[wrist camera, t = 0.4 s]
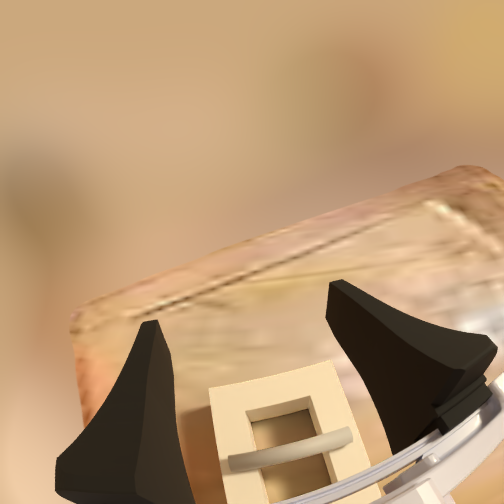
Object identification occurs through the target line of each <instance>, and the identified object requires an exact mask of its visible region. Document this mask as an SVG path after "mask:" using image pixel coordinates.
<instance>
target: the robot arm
mask: <svg viewBox="0 0 504 504" xmlns="http://www.w3.org/2000/svg"><path fill="white" fill-rule="evenodd" d="M325 318H326V320H327V322H328V324H329V326H330V328H331V330H332V332H333V334H334V336H335V338H336V340H337V341H338V343H339V344H340V346H341V347H342V349H343V350H344V352H345V353H346V355H347V356H348V358H349V359H350V361H351V362H352V364H353V365H354V367H355V368H356V370H357V371H358V373H359V374H360V376H361V378H362V380H363V381H364V383H365V385H366V387H367V389H368V391H369V394H370V396H371V398H372V400H373V402H374V404H375V407H376V409H377V411H378V414H379V416H380V419H381V421H382V424H383V427H384V429H385V432H386V435H387V438H388V441H389V444H390V448H391V451H392V454H393V456H392V457H390V458H388V459H386V460H384V461H382V462H380V463H378V464H376V465H374V466H372V467H370V468H368V469H366V470H364V471H362V472H359V473H357V474H355V475H353V476H351V477H348V478H346V479H343V480H341V481H339V482H336V483H334V484H331V485H329V486H326V487H323V488H320V489H318V490H315V491H312V492H309V493H306V494H303V495H300V496H297V497H294V498H290V499H287V500H283V501H280V502H276V503H272V504H330V503H333V502H335V501H338V500H340V499H343V498H345V497H347V496H350V495H352V494H354V493H357V492H359V491H361V490H363V489H365V488H367V487H369V486H371V485H373V484H375V483H377V482H379V481H381V480H383V479H385V478H387V477H389V476H391V475H393V474H394V473H396V472H398V471H400V470H401V469H403V468H405V467H407V466H408V465H410V464H412V463H413V462H415V461H416V460H417V461H416V464H415V465H413V466H412V467H410V468H409V469H407V470H406V471H404V472H403V473H401V474H399V476H398V477H397V478H395V479H394V480H393V481H391V482H390V483H388V484H387V485H385V486H384V487H383V490H384V492H385V493H386V495H385V496H383V497H381V498H379V499H377V500H375V501H373V502H371V503H369V504H456V503H455V502H454V500H453V498H452V497H451V495H450V492H451V491H452V490H453V489H454V488H456V487H457V486H458V485H459V484H460V483H461V482H462V481H464V480H465V479H466V478H467V477H468V476H469V475H470V474H471V473H472V472H473V471H474V470H475V469H476V468H477V467H478V466H479V465H480V464H481V463H482V462H483V461H484V460H485V459H486V458H487V457H488V456H489V455H490V454H491V453H492V452H493V451H494V449H495V448H496V447H497V446H498V445H499V444H500V443H501V442H502V440H503V439H504V371H503V372H502V373H501V374H500V375H499V376H498V377H497V378H496V379H494V380H493V381H492V382H491V383H490V384H489V385H488V387H487V386H486V384H485V382H486V380H487V379H486V377H485V376H484V375H483V374H484V372H485V371H486V369H487V368H488V366H489V365H490V363H491V362H492V360H493V359H494V357H495V355H496V353H497V350H498V347H497V346H496V345H495V344H494V343H493V342H492V341H491V339H490V338H489V337H488V336H487V335H482V334H474V333H466V332H461V331H456V330H452V329H448V328H444V327H440V326H437V325H434V324H431V323H428V322H425V321H422V320H420V319H417V318H415V317H412V316H410V315H408V314H405V313H403V312H401V311H399V310H397V309H395V308H393V307H391V306H389V305H387V304H385V303H383V302H382V301H380V300H378V299H376V298H374V297H373V296H371V295H369V294H367V293H366V292H364V291H362V290H360V289H359V288H357V287H355V286H354V285H352V284H350V283H348V282H346V281H344V280H342V279H340V280H337V281H333V282H329V291H328V301H327V309H326V317H325ZM55 468H56V469H55V491H56V493H57V494H58V495H60V496H61V497H63V498H65V499H67V500H69V501H72V502H74V503H76V504H196V503H195V500H194V497H193V494H192V491H191V488H190V484H189V481H188V477H187V473H186V470H185V466H184V461H183V457H182V453H181V448H180V443H179V438H178V433H177V426H176V414H175V394H174V374H173V367H172V360H171V354H170V351H169V348H168V346H167V343H166V341H165V338H164V336H163V333H162V330H161V328H160V325H159V322H158V320H151V321H146V322H143V323H142V324H141V326H140V329H139V331H138V334H137V337H136V339H135V342H134V344H133V346H132V349H131V351H130V353H129V356H128V358H127V360H126V362H125V364H124V367H123V369H122V371H121V373H120V375H119V377H118V379H117V381H116V382H115V384H114V386H113V388H112V390H111V391H110V393H109V395H108V396H107V398H106V400H105V401H104V403H103V404H102V406H101V407H100V409H99V410H98V412H97V413H96V415H95V416H94V418H93V419H92V420H91V422H90V423H89V424H88V425H87V427H86V428H85V429H84V430H83V432H82V433H81V434H80V435H79V436H78V437H77V439H76V440H75V441H74V442H73V443H72V444H71V445H70V446H69V447H68V448H67V449H66V450H65V451H64V452H63V453H62V454H61V455H60V456H59V457H57V460H56V467H55Z"/></svg>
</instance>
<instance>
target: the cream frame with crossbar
mask: <svg viewBox="0 0 504 504" xmlns="http://www.w3.org/2000/svg"><path fill="white" fill-rule="evenodd" d="M208 389H209V396H210V403H211V411H212V418H213V424H214V431H215V437H216V443H217V450H218V455H219V461H220V467H221V472H222V478H223V483H224V488H225V493H226V498H227V503H228V504H269V500H268V496H267V492H266V488H265V484H264V480H263V475H262V471H261V468H262V467H267V466H272V465H277V464H281V463H286V462H290V461H294V460H298V459H301V458H305V457H309V456H312V455H316V454H319V453H322V454H323V457H324V460H325V463H326V467H327V470H328V473H329V476H330V479H331V483H332V484H334V483H336V482H339V481H341V480H343V479H346V478H348V477H351V476H353V475H355V474H357V473H359V472H362V471H364V470H366V469H368V468H370V467H371V464H370V462H369V459H368V456H367V453H366V450H365V448H364V445H363V442H362V439H361V436H360V434H359V431H358V428H357V426H356V423H355V420H354V418H353V415H352V412H351V410H350V407H349V404H348V402H347V399H346V396H345V394H344V391H343V389H342V386H341V383H340V381H339V378H338V376H337V373H336V371H335V368H334V366H333V363H332V361H331V360H328V361H325V362H321V363H318V364H314V365H311V366H307V367H304V368H300V369H296V370H292V371H289V372H285V373H281V374H276V375H272V376H268V377H264V378H259V379H255V380H250V381H245V382H240V383H235V384H230V385H225V386H219V387H214V388H208ZM304 409H309V412H310V415H311V418H312V422H313V425H314V428H315V431H316V434H317V436H315V437H311V438H308V439H304V440H301V441H297V442H293V443H289V444H285V445H281V446H276V447H272V448H267V449H262V450H257V449H256V445H255V440H254V436H253V431H252V426H251V422H254V421H259V420H263V419H268V418H272V417H277V416H281V415H285V414H289V413H293V412H297V411H300V410H304ZM381 497H382V496H381V493H380V490H379V487H378V485H377V483H375V484H373V485H371V486H369V487H367V488H365V489H363V490H361V491H359V492H357V493H354V494H352V495H350V496H347V497H345V498H343V499H340V500H338V501H335V502H333V503H330V504H369V503H371V502H373V501H375V500H377V499H379V498H381Z"/></svg>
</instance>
